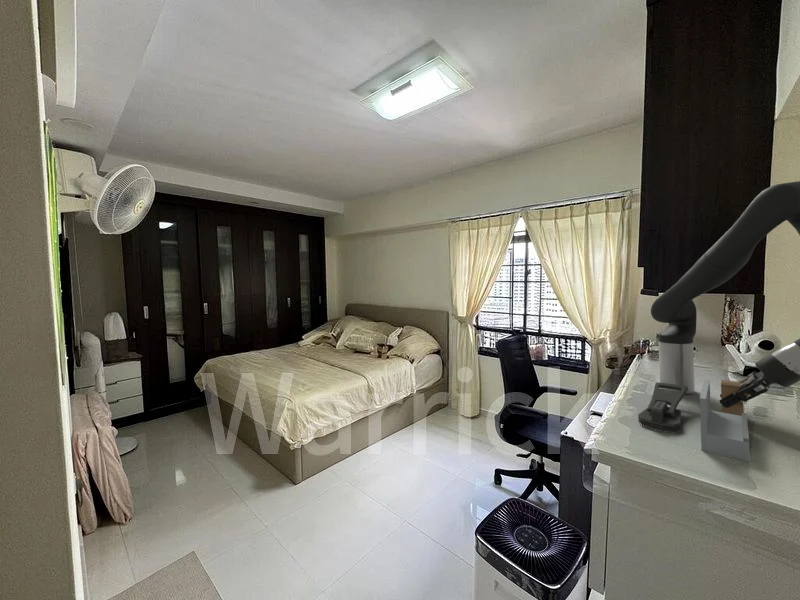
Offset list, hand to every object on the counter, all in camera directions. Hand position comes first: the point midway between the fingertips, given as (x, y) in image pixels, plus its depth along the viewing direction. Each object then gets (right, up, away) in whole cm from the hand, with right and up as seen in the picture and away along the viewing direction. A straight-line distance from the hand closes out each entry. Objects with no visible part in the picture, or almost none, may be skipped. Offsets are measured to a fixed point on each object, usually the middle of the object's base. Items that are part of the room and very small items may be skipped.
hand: (722, 401), depth 88 cm
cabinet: (+1, -4, -1) cm, 5 cm away
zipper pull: (-13, -6, +3) cm, 15 cm away
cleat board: (-12, -5, -12) cm, 18 cm away
